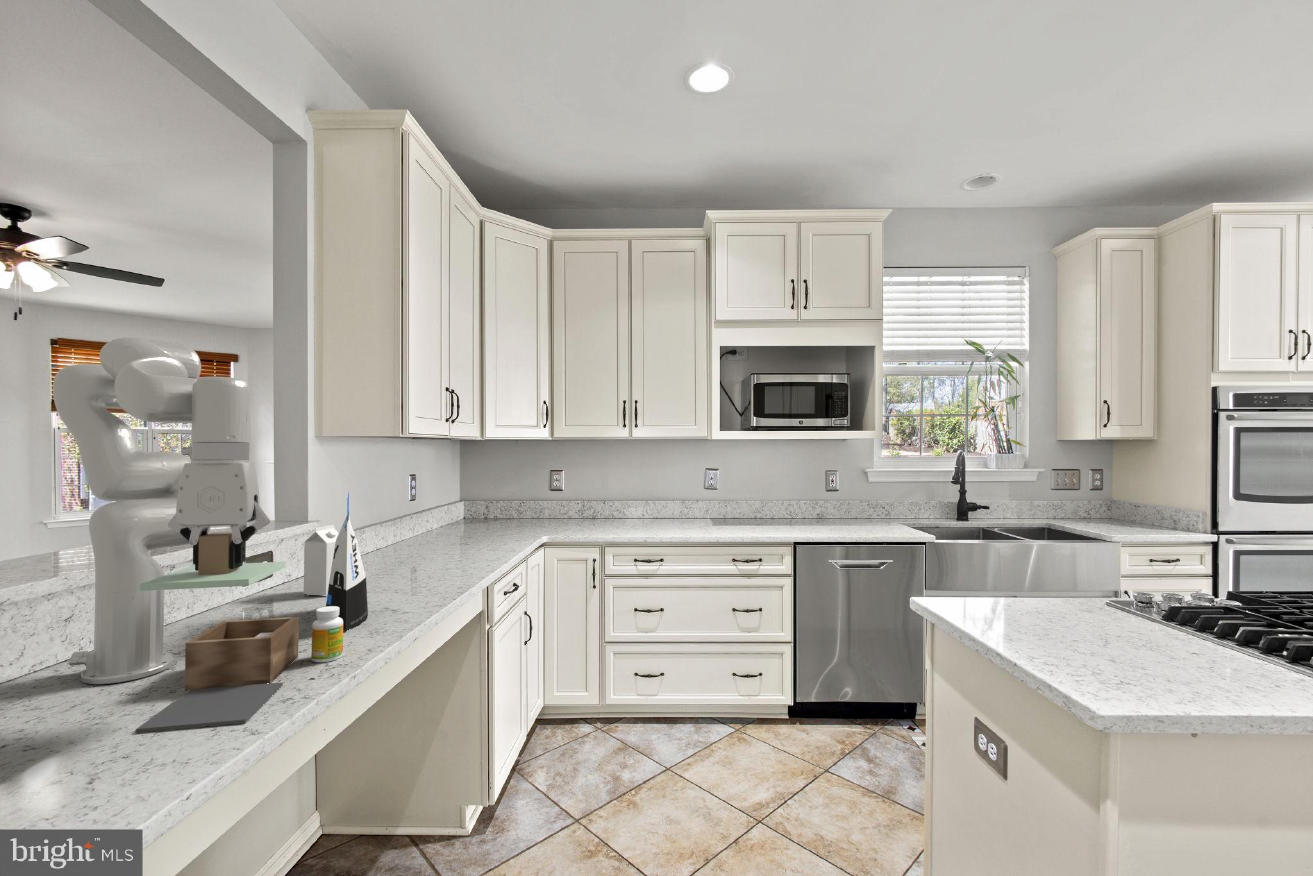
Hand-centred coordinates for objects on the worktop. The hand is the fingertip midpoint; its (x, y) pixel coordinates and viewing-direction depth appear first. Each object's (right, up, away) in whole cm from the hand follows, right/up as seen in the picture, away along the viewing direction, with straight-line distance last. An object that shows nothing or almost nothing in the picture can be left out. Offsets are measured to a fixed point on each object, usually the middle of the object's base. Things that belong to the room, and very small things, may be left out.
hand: (219, 567), depth 93 cm
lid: (0, -2, 0) cm, 2 cm away
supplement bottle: (+5, -23, +22) cm, 32 cm away
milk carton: (-24, -24, +71) cm, 79 cm away
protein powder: (-5, -23, +48) cm, 54 cm away
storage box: (-6, -23, +14) cm, 27 cm away
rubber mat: (0, -22, 0) cm, 22 cm away
